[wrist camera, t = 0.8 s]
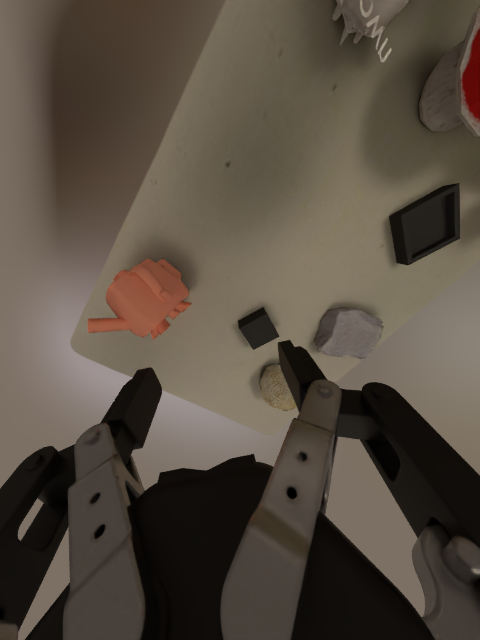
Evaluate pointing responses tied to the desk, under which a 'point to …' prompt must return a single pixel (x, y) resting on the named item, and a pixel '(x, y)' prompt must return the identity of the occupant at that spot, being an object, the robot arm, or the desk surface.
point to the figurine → (368, 18)
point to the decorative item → (276, 389)
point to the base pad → (426, 224)
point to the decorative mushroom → (455, 86)
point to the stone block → (348, 333)
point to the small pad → (257, 328)
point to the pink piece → (143, 299)
